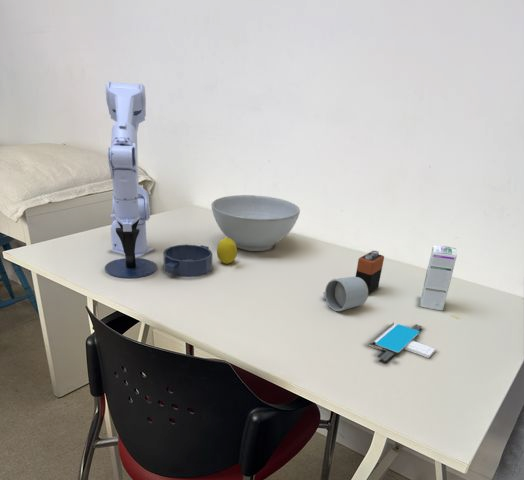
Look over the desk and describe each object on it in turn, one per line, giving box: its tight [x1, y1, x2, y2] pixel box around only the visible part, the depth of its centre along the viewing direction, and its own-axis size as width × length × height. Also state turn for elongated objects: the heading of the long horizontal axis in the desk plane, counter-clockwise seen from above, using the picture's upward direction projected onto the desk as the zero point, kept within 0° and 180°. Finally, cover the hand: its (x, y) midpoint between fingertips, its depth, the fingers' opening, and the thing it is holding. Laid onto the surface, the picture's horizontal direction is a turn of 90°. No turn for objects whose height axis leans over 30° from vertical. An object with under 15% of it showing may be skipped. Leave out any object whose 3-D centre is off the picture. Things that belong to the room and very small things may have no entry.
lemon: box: [216, 236, 238, 265], centre depth 138 cm, size 6×6×8 cm
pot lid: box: [104, 253, 158, 279], centre depth 131 cm, size 13×13×5 cm
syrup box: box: [419, 244, 458, 311], centre depth 122 cm, size 6×6×14 cm
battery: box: [355, 250, 385, 295], centre depth 129 cm, size 4×7×10 cm, turn 143°
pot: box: [162, 244, 213, 278], centre depth 134 cm, size 13×18×5 cm
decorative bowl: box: [211, 194, 301, 252], centre depth 154 cm, size 27×27×12 cm
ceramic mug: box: [322, 276, 369, 312], centre depth 121 cm, size 11×8×8 cm
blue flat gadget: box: [367, 322, 436, 364], centre depth 106 cm, size 20×12×2 cm, turn 143°
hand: (129, 250), depth 129 cm, fingers open, 7 cm apart
